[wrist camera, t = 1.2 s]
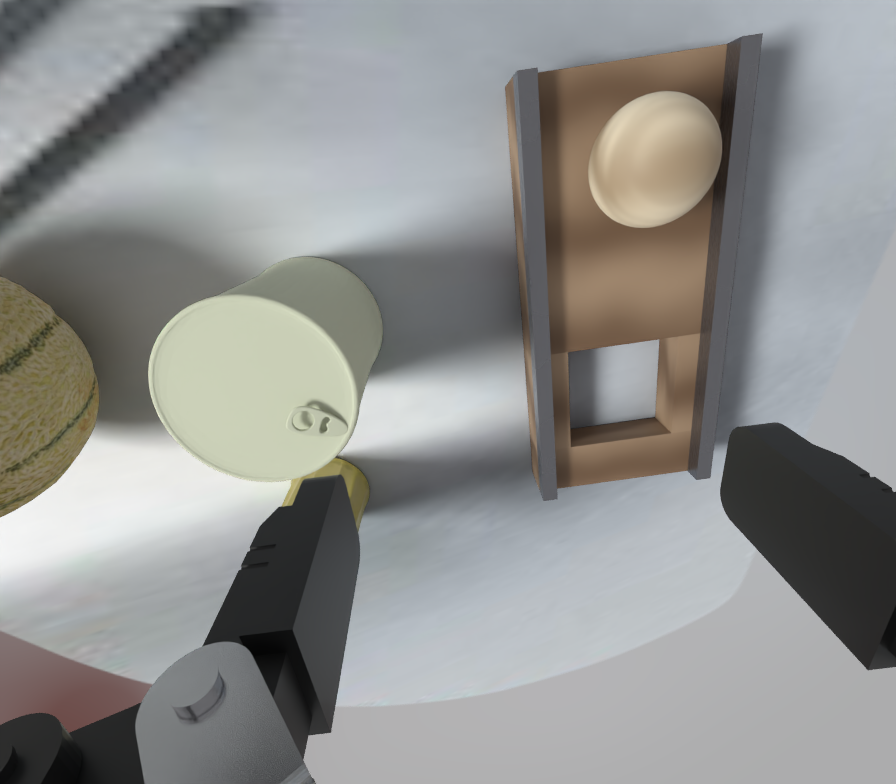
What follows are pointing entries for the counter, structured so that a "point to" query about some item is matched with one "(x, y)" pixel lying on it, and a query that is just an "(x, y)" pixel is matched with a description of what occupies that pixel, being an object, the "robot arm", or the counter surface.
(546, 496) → the runway
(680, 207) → the ball
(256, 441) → the can
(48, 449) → the cantaloupe
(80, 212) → the counter surface
